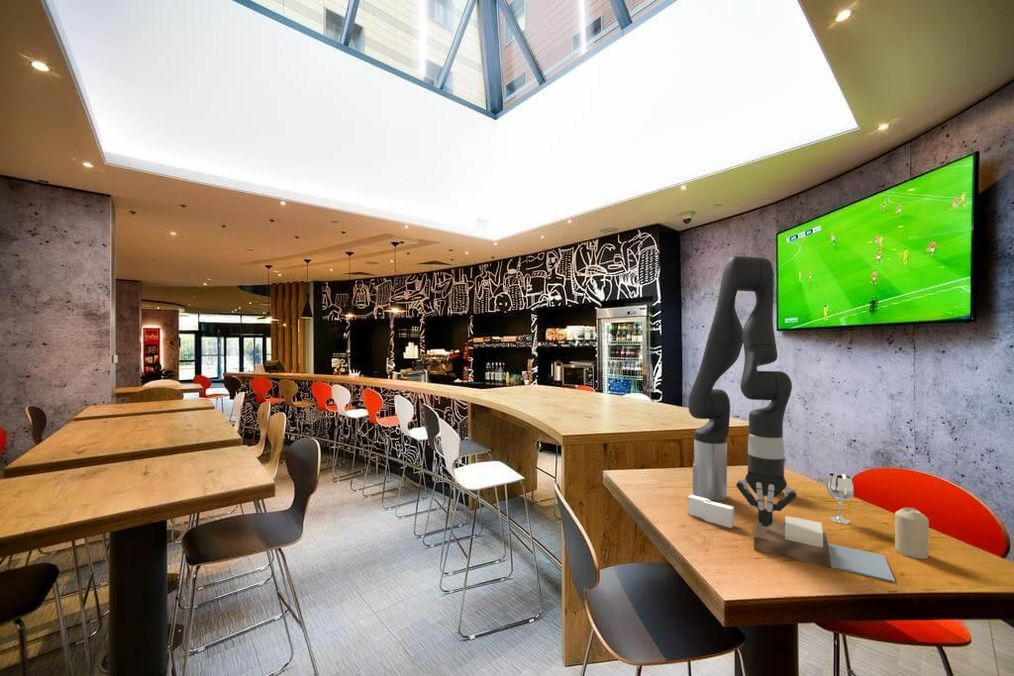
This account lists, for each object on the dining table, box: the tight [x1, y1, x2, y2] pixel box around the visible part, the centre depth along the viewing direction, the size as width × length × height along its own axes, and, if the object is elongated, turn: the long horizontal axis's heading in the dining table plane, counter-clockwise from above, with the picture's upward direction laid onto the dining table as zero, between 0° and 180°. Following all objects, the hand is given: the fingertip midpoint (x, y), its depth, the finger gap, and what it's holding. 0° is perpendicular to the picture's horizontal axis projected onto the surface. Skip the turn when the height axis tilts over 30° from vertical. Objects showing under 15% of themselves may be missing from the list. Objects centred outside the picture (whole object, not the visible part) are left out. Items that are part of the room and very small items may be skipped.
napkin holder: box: [687, 494, 735, 529], centre depth 115 cm, size 15×11×6 cm
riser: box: [753, 518, 831, 569], centre depth 99 cm, size 14×12×3 cm
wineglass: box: [826, 472, 855, 525], centre depth 114 cm, size 6×6×12 cm
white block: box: [784, 515, 824, 548], centre depth 98 cm, size 7×7×3 cm
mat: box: [828, 543, 896, 583], centre depth 93 cm, size 10×12×1 cm
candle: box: [894, 507, 930, 560], centre depth 97 cm, size 6×6×10 cm
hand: (765, 525), depth 102 cm, fingers closed
